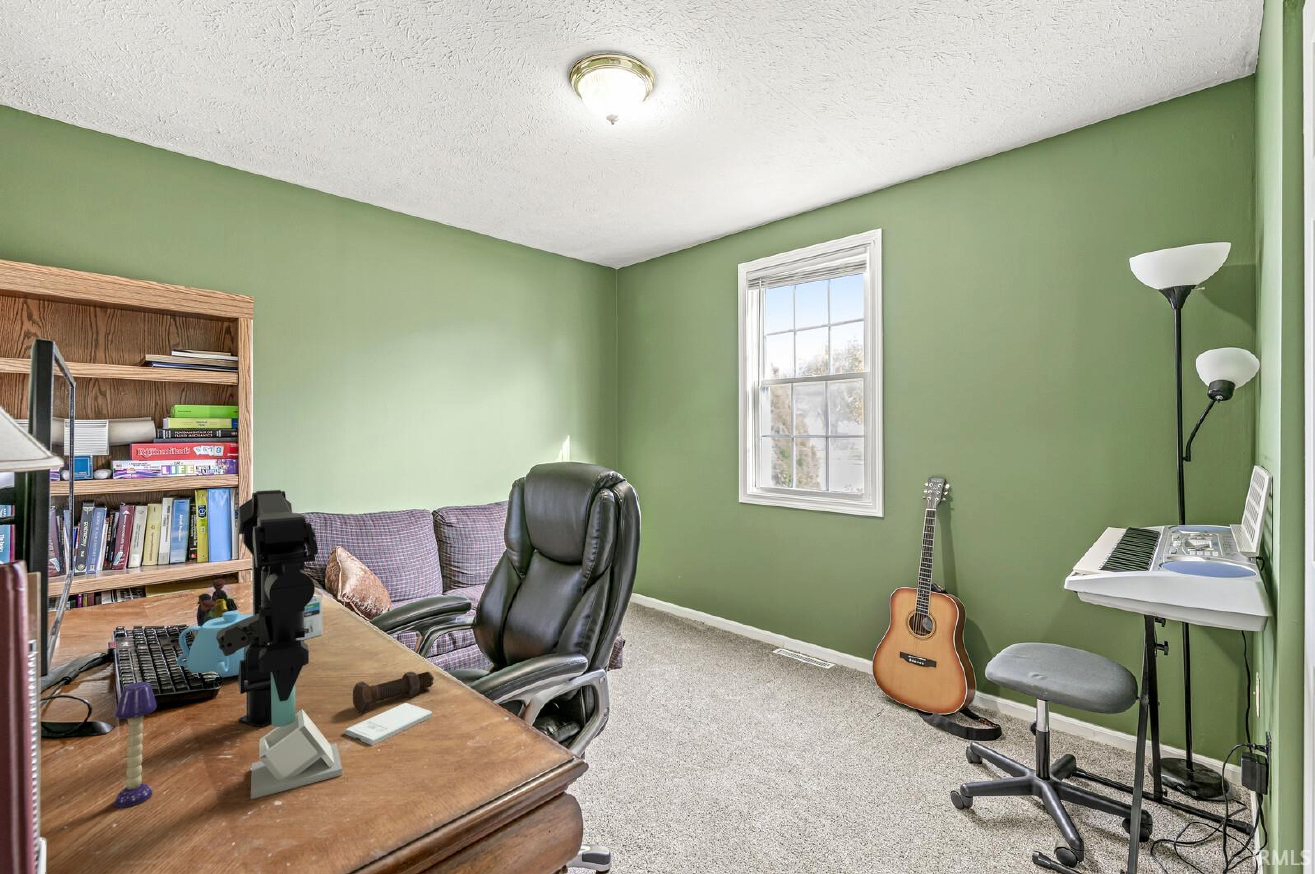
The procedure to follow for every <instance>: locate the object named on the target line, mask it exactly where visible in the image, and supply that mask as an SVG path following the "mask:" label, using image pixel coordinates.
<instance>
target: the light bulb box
mask: <svg viewBox="0 0 1315 874" xmlns="http://www.w3.org/2000/svg"><path fill="white" fill-rule="evenodd" d="M322 599H323V595H320V594H316V593H314V595H313V598H312V599H311V601H310V602H309V603H308V604H307V605H306V606H305V611H304V629H305V637H303V638H296V640H304V641H305V640H308V639H313V638H316V637H319V636H322V635H323V604H322V603H323V600H322Z"/></svg>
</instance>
